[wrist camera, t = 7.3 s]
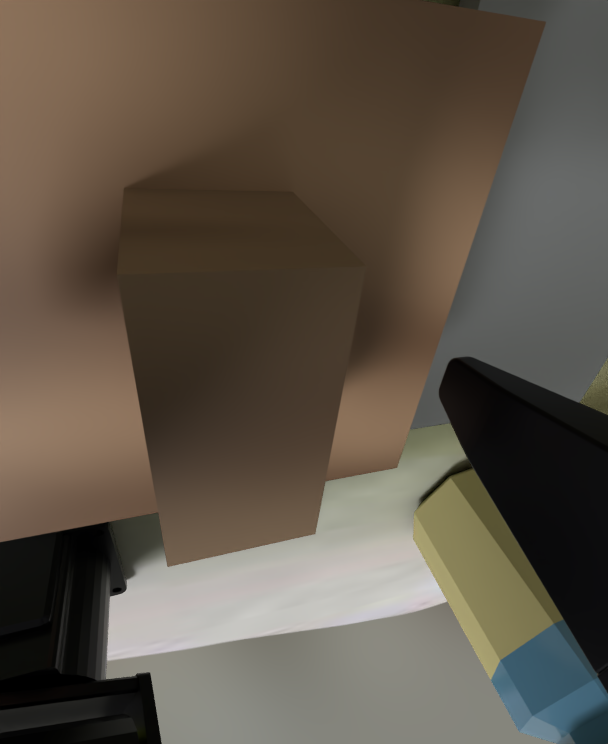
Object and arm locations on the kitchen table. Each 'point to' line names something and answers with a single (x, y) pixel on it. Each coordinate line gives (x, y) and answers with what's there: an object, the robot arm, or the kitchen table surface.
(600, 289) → the charcoal mat
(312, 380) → the walnut cover
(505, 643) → the jar
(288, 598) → the kitchen table surface
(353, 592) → the kitchen table surface
